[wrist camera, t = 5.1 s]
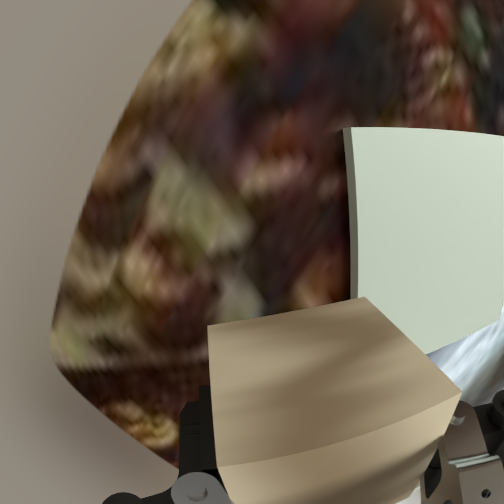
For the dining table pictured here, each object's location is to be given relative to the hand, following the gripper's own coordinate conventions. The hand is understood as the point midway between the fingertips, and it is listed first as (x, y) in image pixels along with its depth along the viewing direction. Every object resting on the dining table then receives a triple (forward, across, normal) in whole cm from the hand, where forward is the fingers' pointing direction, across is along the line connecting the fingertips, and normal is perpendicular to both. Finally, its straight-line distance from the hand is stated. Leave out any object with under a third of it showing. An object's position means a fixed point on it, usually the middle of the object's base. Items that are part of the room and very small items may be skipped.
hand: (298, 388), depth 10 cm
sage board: (+8, -13, -1) cm, 16 cm away
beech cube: (+1, 0, 0) cm, 1 cm away
